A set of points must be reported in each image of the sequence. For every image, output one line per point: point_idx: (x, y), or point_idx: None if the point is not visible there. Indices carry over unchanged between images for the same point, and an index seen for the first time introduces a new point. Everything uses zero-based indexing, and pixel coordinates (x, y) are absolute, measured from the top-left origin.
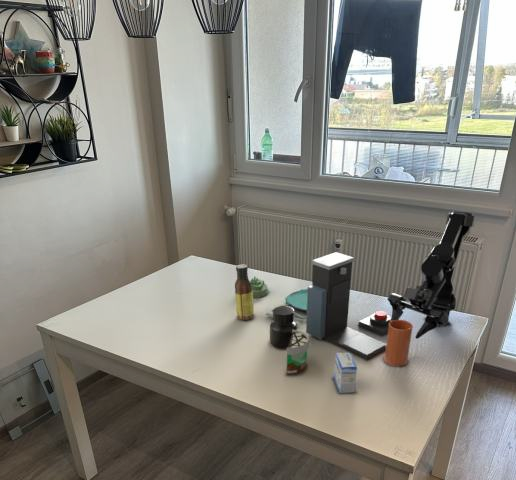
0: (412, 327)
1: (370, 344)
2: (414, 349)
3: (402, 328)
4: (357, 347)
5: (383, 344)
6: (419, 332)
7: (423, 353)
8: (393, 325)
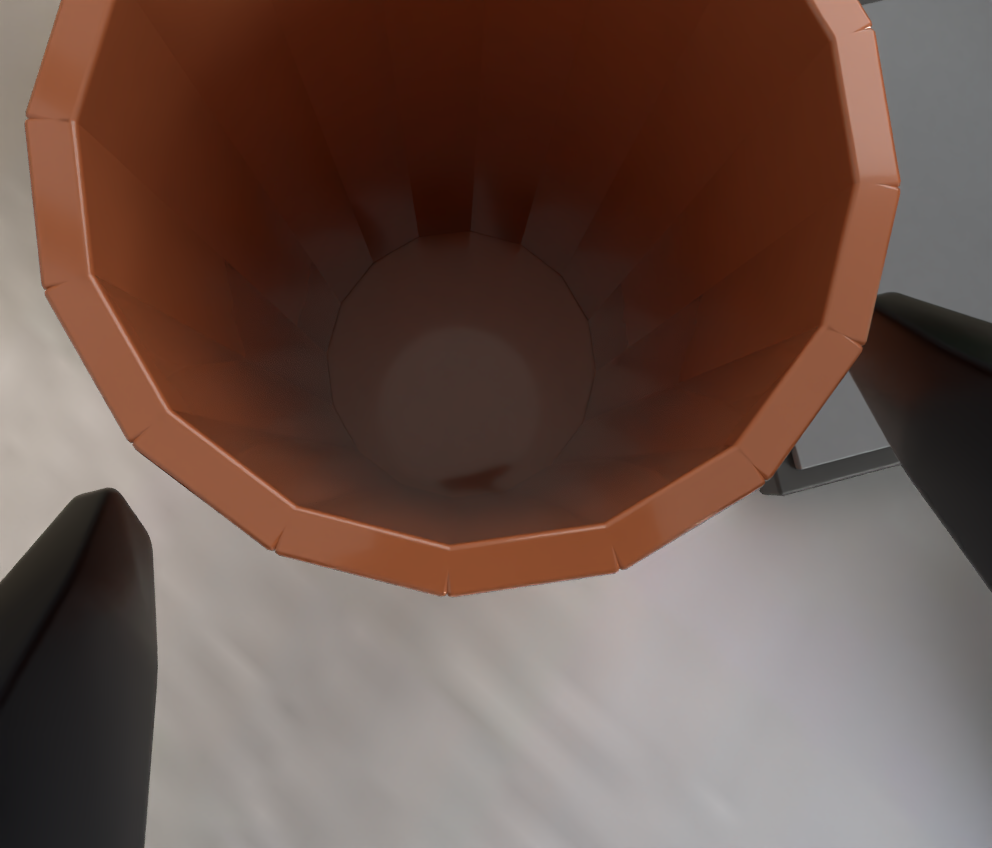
0: (135, 439)
1: (892, 259)
2: (574, 793)
3: (616, 473)
4: (901, 53)
5: (813, 422)
6: (5, 602)
7: (432, 830)
8: (772, 230)
